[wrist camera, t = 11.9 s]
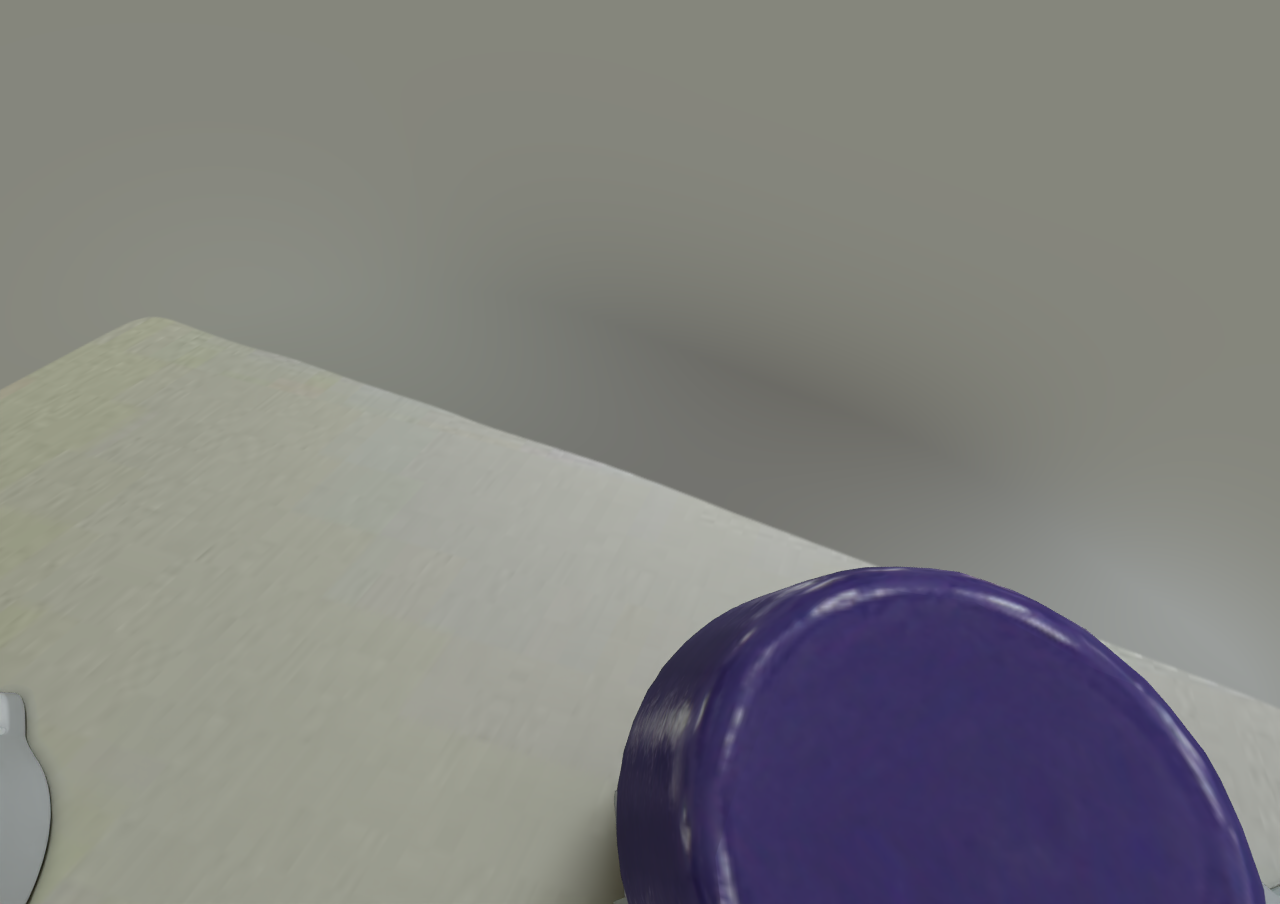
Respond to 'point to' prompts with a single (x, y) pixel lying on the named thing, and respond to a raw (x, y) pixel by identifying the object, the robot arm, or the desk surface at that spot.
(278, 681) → the desk surface
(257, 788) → the desk surface
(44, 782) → the robot arm
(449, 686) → the desk surface
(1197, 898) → the toy lamp
